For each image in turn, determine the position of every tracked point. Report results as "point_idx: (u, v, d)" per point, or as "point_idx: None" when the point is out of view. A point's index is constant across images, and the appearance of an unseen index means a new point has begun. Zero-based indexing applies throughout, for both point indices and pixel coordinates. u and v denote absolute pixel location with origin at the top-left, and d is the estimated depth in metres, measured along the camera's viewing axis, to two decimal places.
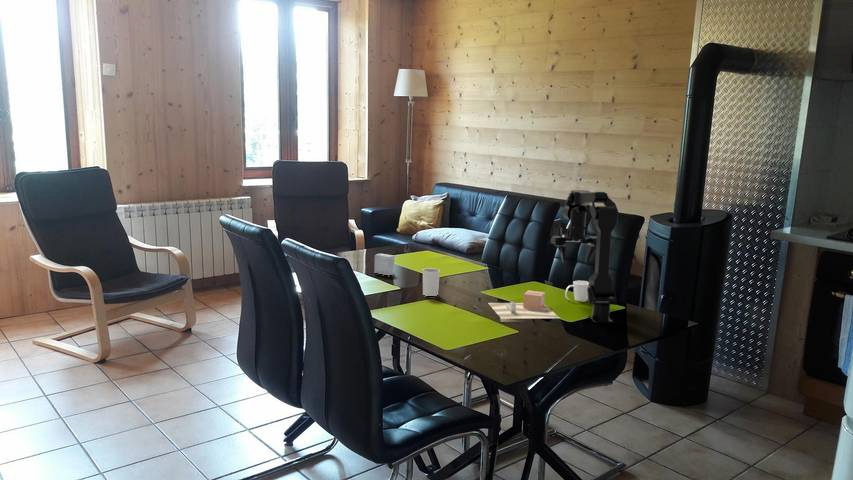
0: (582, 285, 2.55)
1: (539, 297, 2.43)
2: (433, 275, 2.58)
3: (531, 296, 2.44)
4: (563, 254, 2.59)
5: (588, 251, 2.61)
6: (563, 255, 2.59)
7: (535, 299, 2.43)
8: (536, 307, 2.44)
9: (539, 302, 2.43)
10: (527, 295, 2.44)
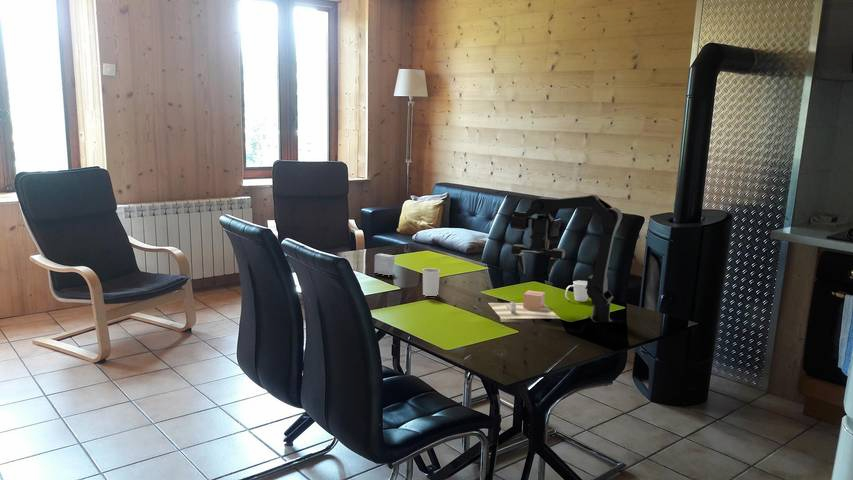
0: (582, 285, 2.55)
1: (539, 297, 2.43)
2: (433, 275, 2.58)
3: (531, 296, 2.44)
4: (520, 264, 2.45)
5: None
6: (521, 265, 2.46)
7: (535, 299, 2.43)
8: (536, 307, 2.44)
9: (539, 302, 2.43)
10: (527, 295, 2.44)
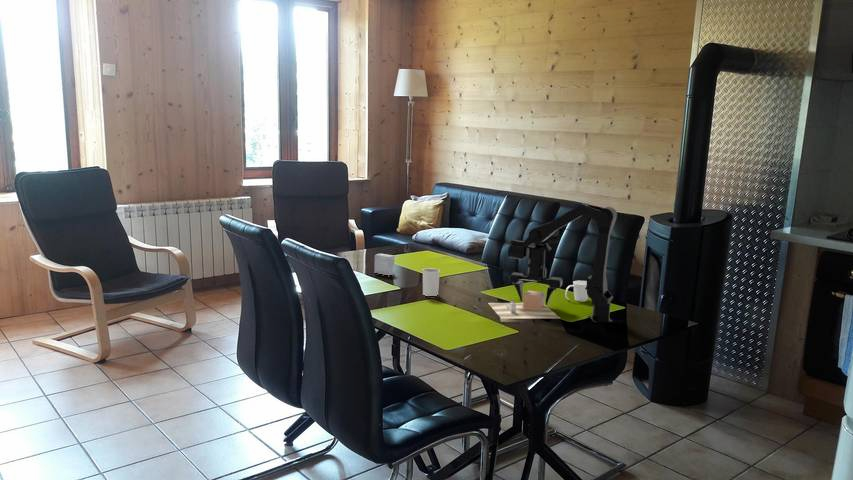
0: (582, 285, 2.55)
1: (539, 297, 2.43)
2: (432, 275, 2.58)
3: (531, 296, 2.44)
4: (518, 292, 2.47)
5: None
6: (519, 293, 2.47)
7: (535, 299, 2.43)
8: (536, 307, 2.44)
9: (539, 302, 2.43)
10: (527, 295, 2.44)
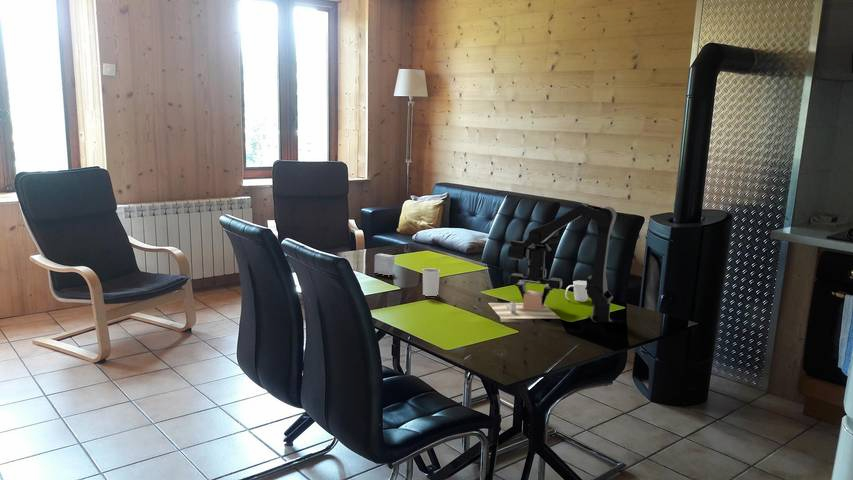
0: (582, 285, 2.55)
1: (539, 297, 2.43)
2: (432, 275, 2.58)
3: (531, 296, 2.44)
4: (521, 293, 2.46)
5: None
6: (522, 295, 2.47)
7: (535, 299, 2.43)
8: (536, 307, 2.44)
9: (539, 302, 2.43)
10: (527, 295, 2.44)
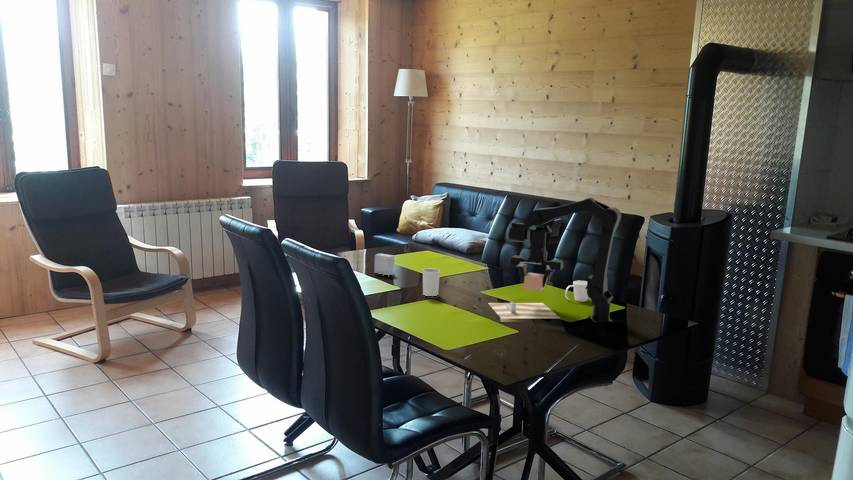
0: (582, 285, 2.55)
1: (540, 279, 2.42)
2: (433, 275, 2.58)
3: (532, 278, 2.43)
4: (522, 275, 2.45)
5: None
6: (523, 276, 2.46)
7: (536, 281, 2.42)
8: (537, 289, 2.43)
9: (540, 284, 2.42)
10: (528, 277, 2.43)
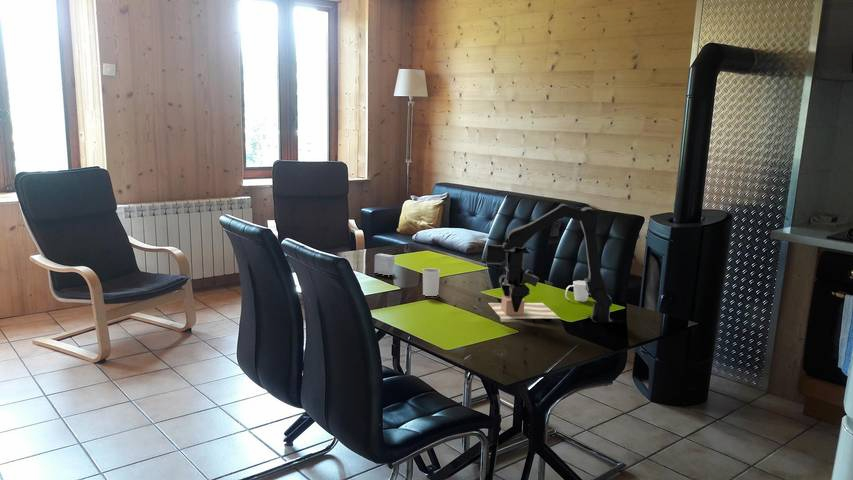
0: (582, 285, 2.55)
1: (506, 301, 2.35)
2: (433, 275, 2.58)
3: (503, 299, 2.38)
4: (504, 294, 2.43)
5: None
6: (504, 295, 2.43)
7: (504, 303, 2.37)
8: (504, 311, 2.37)
9: (505, 306, 2.36)
10: (502, 297, 2.40)
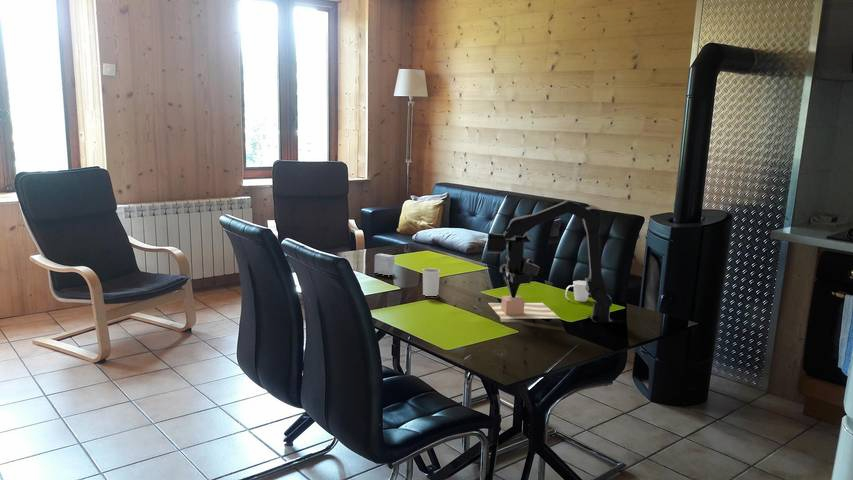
0: (582, 285, 2.55)
1: (506, 301, 2.35)
2: (433, 275, 2.58)
3: (503, 299, 2.38)
4: (508, 286, 2.38)
5: None
6: (508, 288, 2.38)
7: (504, 303, 2.37)
8: (504, 311, 2.37)
9: (505, 306, 2.36)
10: (502, 297, 2.40)
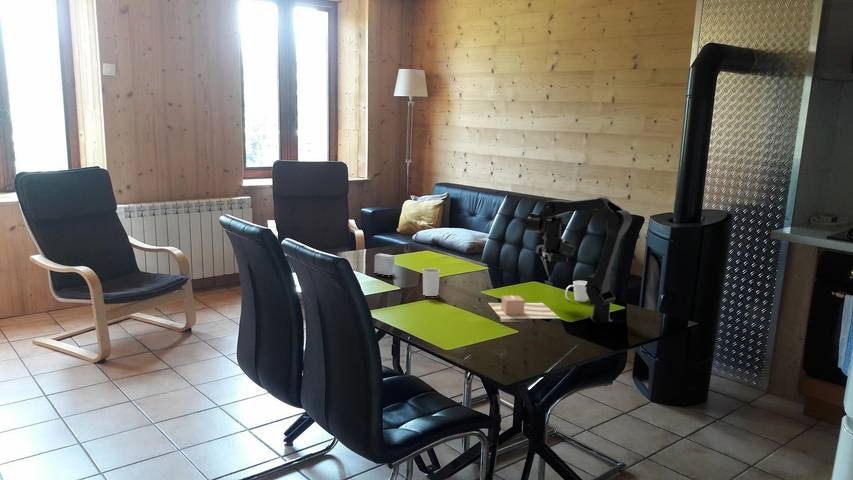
0: (582, 285, 2.55)
1: (506, 301, 2.35)
2: (433, 275, 2.58)
3: (503, 299, 2.38)
4: (544, 266, 2.49)
5: None
6: (545, 267, 2.49)
7: (504, 303, 2.37)
8: (504, 311, 2.37)
9: (505, 306, 2.36)
10: (502, 297, 2.40)
